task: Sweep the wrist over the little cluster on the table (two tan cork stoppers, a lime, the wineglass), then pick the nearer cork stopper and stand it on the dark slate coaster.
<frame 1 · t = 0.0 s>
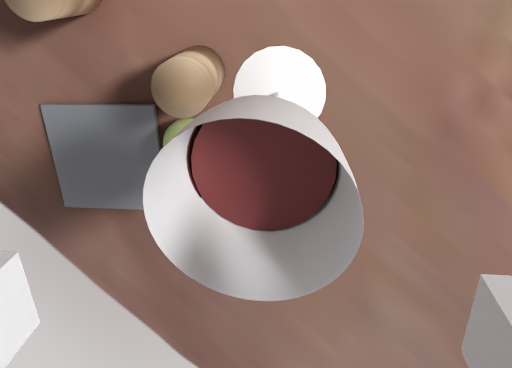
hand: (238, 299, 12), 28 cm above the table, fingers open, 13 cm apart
cork b: (200, 71, 38), on the table
coaster: (108, 157, 42), on the table
wineglass: (279, 93, 38), on the table
lime: (194, 135, 40), on the table
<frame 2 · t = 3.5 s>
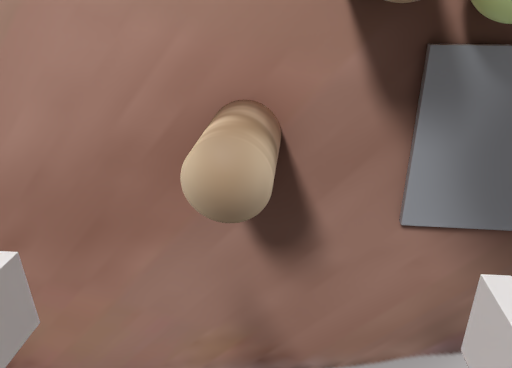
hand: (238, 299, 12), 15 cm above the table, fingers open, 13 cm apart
coaster: (509, 143, 25), on the table
cork a: (245, 134, 26), on the table
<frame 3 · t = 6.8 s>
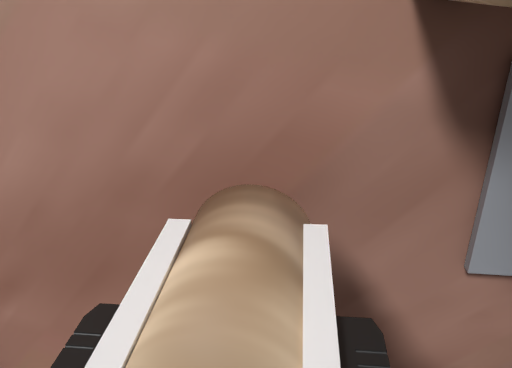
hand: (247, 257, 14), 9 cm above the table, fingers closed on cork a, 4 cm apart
cork a: (252, 239, 15), point 7 cm above the table, touching gripper
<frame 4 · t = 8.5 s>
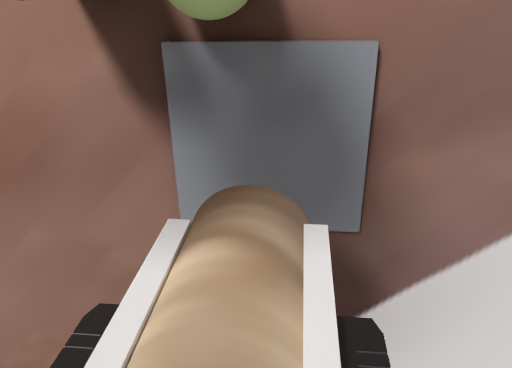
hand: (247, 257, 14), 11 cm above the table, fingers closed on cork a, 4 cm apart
coaster: (268, 141, 24), on the table
cork a: (251, 239, 15), point 10 cm above the table, touching gripper
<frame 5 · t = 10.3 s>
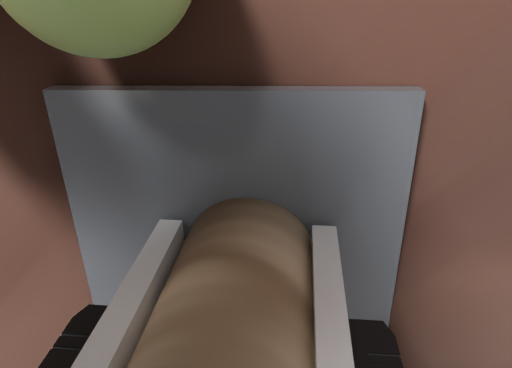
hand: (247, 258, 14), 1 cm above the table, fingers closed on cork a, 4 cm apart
coaster: (236, 241, 15), on the table
cork a: (249, 254, 14), point 1 cm above the table, touching coaster, gripper
when the fingers open (1 cm above the table, at t = 10.6 s): cork a stays where it is, resting on coaster.
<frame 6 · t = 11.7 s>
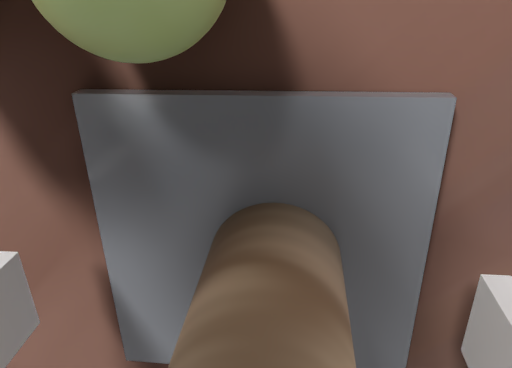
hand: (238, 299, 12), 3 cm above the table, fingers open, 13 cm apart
coaster: (259, 246, 15), on the table
cork a: (275, 260, 14), point 1 cm above the table, touching coaster
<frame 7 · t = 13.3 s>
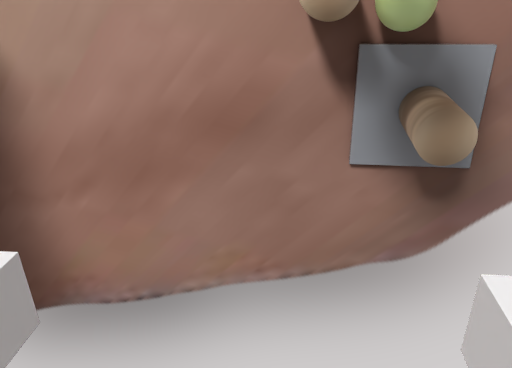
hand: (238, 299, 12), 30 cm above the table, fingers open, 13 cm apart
coaster: (415, 107, 38), on the table
cork a: (424, 110, 38), point 1 cm above the table, touching coaster
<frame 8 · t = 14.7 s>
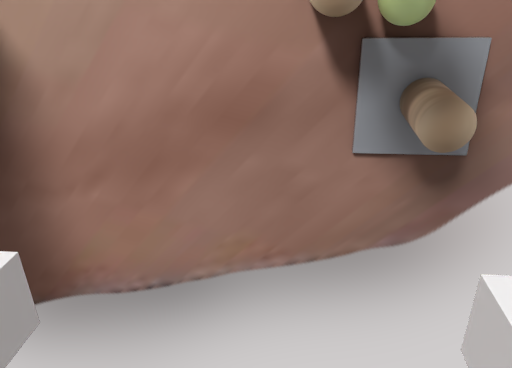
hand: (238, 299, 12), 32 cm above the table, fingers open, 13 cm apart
coaster: (415, 98, 40), on the table
cork a: (423, 101, 40), point 1 cm above the table, touching coaster
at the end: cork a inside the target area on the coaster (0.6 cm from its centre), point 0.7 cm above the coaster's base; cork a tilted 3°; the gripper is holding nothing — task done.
